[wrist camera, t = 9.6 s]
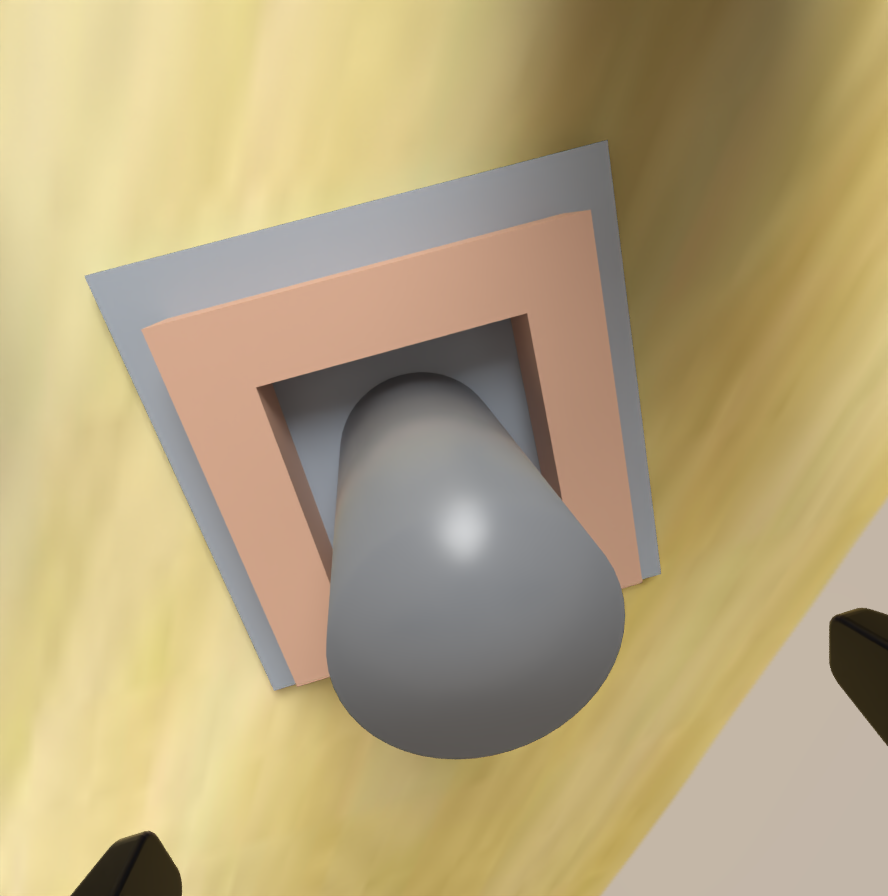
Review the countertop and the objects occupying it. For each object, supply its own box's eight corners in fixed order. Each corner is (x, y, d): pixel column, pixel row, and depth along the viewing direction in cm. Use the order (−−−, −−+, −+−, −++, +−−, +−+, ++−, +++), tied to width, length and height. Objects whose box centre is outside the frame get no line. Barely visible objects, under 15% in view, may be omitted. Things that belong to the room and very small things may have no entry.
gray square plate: (598, 143, 16) (642, 126, 13) (652, 564, 21) (691, 607, 19) (94, 274, 15) (44, 281, 13) (276, 678, 20) (265, 737, 18)
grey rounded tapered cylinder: (479, 352, 17) (602, 466, 8) (511, 497, 19) (640, 710, 10) (318, 397, 17) (281, 559, 8) (366, 539, 18) (376, 792, 10)
